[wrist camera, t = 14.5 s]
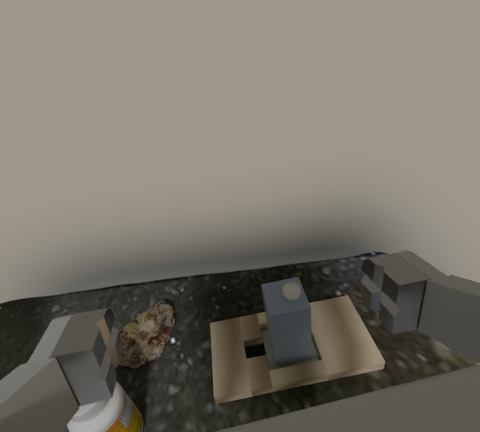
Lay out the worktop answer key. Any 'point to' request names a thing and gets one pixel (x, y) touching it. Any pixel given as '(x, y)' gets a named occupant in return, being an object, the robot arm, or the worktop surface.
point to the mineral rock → (147, 335)
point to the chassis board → (299, 373)
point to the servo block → (288, 320)
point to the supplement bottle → (108, 415)
